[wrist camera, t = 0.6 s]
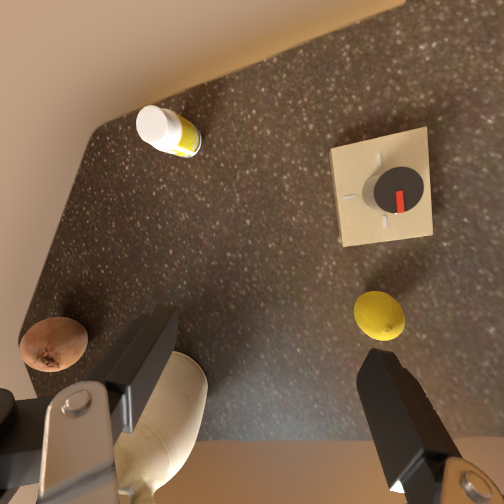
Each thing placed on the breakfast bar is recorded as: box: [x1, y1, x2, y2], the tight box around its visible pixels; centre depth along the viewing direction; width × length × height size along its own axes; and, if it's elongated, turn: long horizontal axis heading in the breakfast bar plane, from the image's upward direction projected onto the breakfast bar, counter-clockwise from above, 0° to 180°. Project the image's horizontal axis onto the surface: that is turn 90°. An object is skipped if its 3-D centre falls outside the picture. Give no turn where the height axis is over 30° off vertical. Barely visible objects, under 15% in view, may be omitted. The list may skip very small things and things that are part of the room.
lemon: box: [354, 291, 405, 340], centre depth 31 cm, size 6×6×8 cm
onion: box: [20, 317, 88, 372], centre depth 44 cm, size 10×9×10 cm
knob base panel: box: [329, 126, 433, 247], centre depth 31 cm, size 12×10×3 cm
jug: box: [113, 351, 208, 504], centre depth 34 cm, size 15×16×25 cm
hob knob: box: [362, 167, 424, 214], centre depth 26 cm, size 4×4×6 cm
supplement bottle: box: [136, 106, 201, 157], centre depth 32 cm, size 5×5×8 cm
